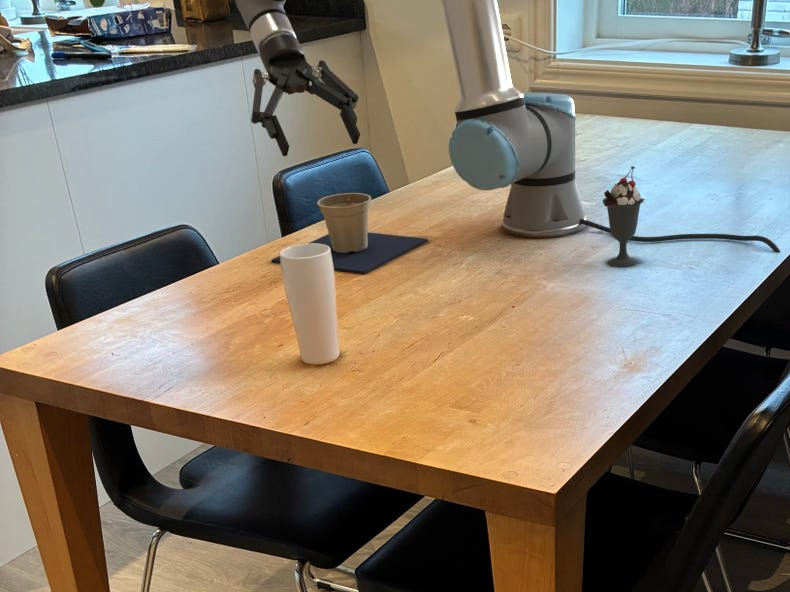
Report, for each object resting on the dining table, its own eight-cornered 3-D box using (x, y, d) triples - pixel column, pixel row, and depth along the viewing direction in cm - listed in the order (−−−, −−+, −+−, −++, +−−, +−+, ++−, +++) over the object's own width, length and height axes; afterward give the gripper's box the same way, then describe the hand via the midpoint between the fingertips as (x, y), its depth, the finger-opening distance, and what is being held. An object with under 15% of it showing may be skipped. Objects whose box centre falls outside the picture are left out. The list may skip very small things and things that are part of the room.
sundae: (646, 256, 173) (649, 163, 165) (638, 269, 167) (640, 173, 160) (607, 255, 175) (608, 163, 167) (598, 267, 169) (598, 173, 162)
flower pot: (367, 256, 180) (362, 206, 176) (316, 256, 182) (309, 207, 178) (382, 241, 188) (377, 192, 184) (333, 241, 190) (327, 193, 186)
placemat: (428, 241, 188) (427, 238, 188) (364, 274, 174) (364, 271, 173) (339, 231, 197) (338, 229, 197) (271, 262, 183) (271, 259, 182)
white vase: (297, 351, 145) (280, 245, 137) (346, 347, 145) (332, 240, 138) (294, 370, 139) (276, 260, 132) (344, 366, 140) (330, 255, 132)
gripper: (337, 53, 197) (380, 147, 193) (210, 70, 187) (253, 169, 183) (345, 24, 190) (389, 121, 187) (213, 40, 180) (258, 142, 176)
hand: (322, 145), depth 185 cm, fingers open, 13 cm apart
